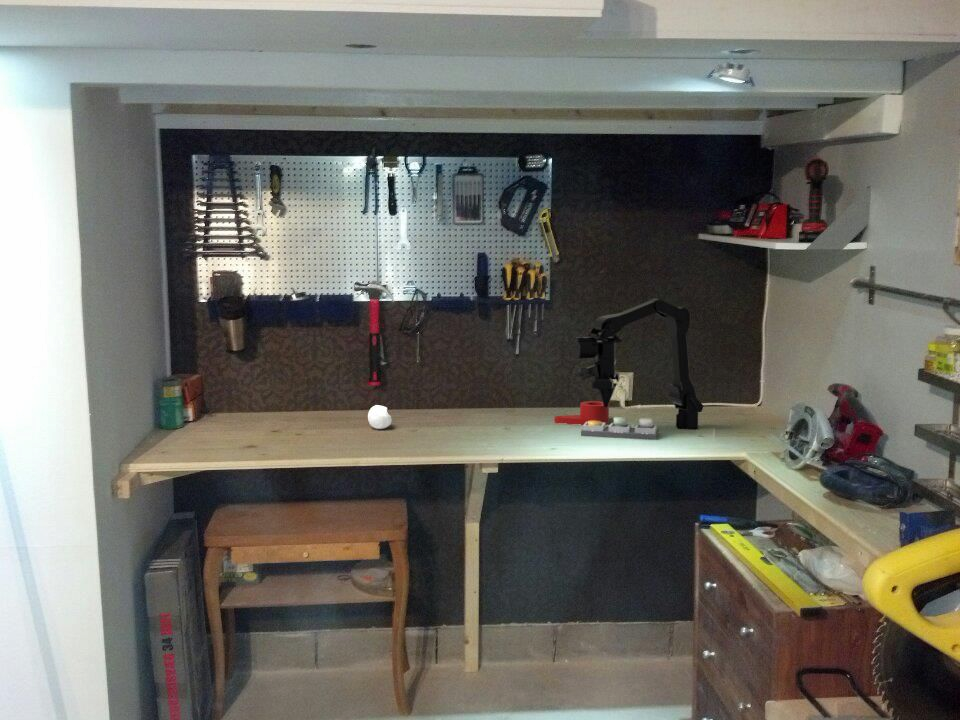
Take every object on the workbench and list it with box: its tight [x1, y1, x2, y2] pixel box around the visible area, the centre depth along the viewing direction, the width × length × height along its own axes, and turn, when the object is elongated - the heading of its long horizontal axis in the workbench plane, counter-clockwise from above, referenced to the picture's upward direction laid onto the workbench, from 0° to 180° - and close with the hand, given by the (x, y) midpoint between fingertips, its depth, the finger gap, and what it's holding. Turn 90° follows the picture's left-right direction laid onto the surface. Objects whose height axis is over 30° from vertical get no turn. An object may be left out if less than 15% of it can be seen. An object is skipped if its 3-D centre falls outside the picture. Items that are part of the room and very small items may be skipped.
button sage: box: [613, 416, 628, 426], centre depth 291 cm, size 4×4×2 cm
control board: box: [580, 422, 659, 441], centre depth 291 cm, size 23×9×3 cm, turn 75°
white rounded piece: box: [367, 404, 393, 430], centre depth 300 cm, size 8×8×8 cm
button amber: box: [588, 420, 601, 426], centre depth 293 cm, size 4×4×2 cm
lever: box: [553, 400, 610, 426], centre depth 310 cm, size 18×9×7 cm, turn 90°
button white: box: [638, 417, 654, 427], centre depth 289 cm, size 4×4×2 cm
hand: (605, 406), depth 292 cm, fingers closed
